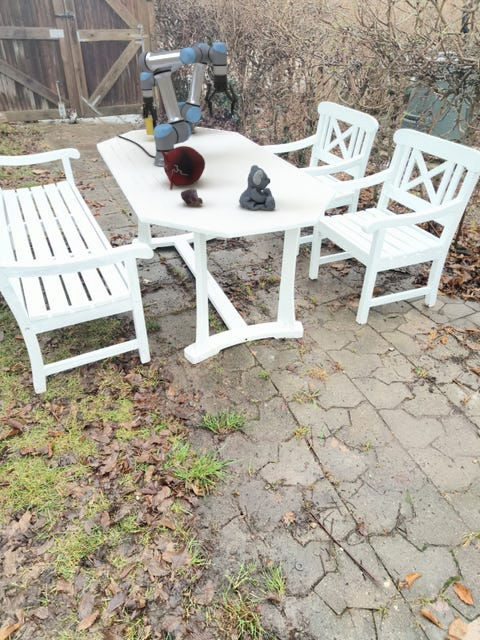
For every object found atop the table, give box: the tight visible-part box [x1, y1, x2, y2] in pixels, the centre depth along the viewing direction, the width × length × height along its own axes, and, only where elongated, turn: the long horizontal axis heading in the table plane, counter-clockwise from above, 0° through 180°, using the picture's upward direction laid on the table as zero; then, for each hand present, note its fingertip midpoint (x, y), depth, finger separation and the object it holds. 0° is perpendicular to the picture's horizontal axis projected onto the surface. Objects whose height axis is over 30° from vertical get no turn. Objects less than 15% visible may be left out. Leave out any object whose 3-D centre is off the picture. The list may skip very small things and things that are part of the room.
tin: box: [144, 116, 158, 136], centre depth 340 cm, size 8×8×11 cm
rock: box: [180, 188, 204, 207], centre depth 229 cm, size 12×9×10 cm
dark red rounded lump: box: [161, 145, 206, 190], centre depth 255 cm, size 21×24×25 cm
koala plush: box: [238, 164, 276, 211], centre depth 224 cm, size 17×18×20 cm
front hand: (221, 114), depth 268 cm, fingers open, 13 cm apart
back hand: (151, 129), depth 342 cm, fingers closed on tin, 8 cm apart
